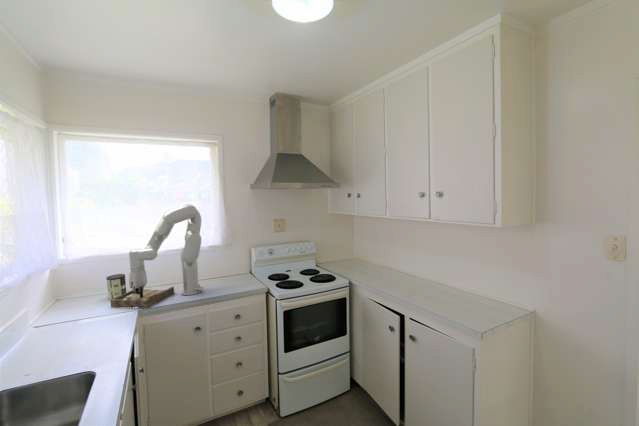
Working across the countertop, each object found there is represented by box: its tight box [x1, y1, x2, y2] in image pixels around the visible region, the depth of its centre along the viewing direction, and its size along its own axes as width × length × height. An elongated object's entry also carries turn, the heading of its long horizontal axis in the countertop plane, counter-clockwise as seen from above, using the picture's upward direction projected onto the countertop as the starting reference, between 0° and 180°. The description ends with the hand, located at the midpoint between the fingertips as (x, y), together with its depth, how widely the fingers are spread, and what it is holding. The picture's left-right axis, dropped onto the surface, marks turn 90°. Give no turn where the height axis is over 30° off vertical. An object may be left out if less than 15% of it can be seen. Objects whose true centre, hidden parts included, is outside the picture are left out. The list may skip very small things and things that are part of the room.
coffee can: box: [105, 273, 128, 300], centre depth 194 cm, size 10×10×14 cm
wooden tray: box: [109, 286, 175, 309], centre depth 187 cm, size 24×25×4 cm
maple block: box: [126, 294, 140, 300], centre depth 179 cm, size 5×5×4 cm
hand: (140, 297), depth 184 cm, fingers closed
